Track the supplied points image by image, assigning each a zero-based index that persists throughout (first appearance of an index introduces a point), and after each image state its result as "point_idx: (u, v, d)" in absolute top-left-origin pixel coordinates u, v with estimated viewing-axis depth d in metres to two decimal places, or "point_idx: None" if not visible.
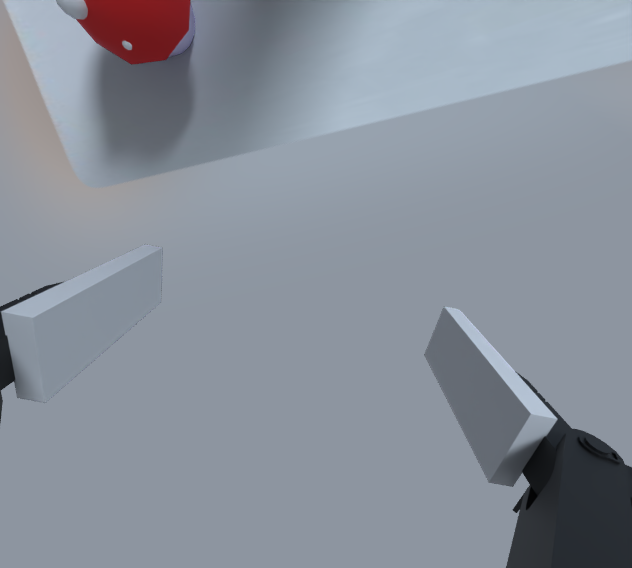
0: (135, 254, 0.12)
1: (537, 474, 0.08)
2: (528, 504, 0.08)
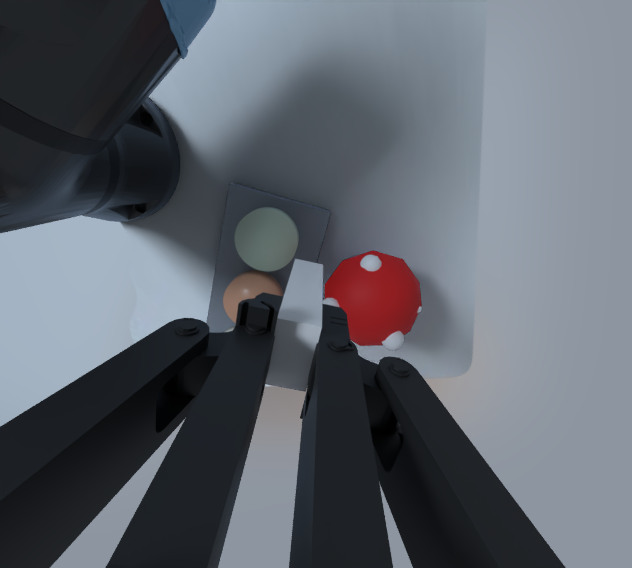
0: (299, 268, 0.15)
1: (308, 383, 0.10)
2: (306, 410, 0.09)
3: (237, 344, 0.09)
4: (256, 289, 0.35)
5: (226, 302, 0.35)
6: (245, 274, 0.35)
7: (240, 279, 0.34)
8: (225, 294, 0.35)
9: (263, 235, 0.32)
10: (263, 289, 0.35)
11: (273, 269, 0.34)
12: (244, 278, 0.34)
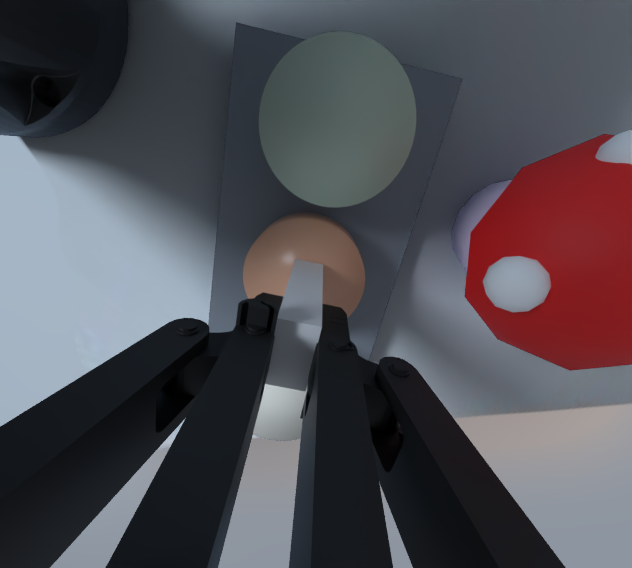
0: (299, 268, 0.15)
1: (308, 382, 0.10)
2: (306, 410, 0.09)
3: (237, 344, 0.09)
4: (313, 248, 0.16)
5: (250, 281, 0.17)
6: (287, 218, 0.16)
7: (278, 227, 0.16)
8: (247, 263, 0.17)
9: (330, 111, 0.13)
10: (328, 247, 0.16)
11: (353, 201, 0.14)
12: (287, 224, 0.16)
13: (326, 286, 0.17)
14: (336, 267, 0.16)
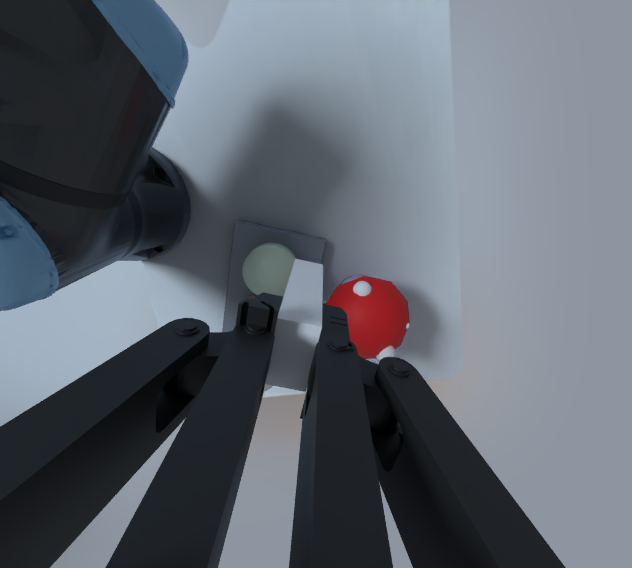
0: (299, 268, 0.15)
1: (308, 383, 0.10)
2: (306, 410, 0.09)
3: (237, 344, 0.09)
4: None
5: None
6: None
7: None
8: None
9: (267, 268, 0.37)
10: None
11: None
12: None
13: None
14: None
